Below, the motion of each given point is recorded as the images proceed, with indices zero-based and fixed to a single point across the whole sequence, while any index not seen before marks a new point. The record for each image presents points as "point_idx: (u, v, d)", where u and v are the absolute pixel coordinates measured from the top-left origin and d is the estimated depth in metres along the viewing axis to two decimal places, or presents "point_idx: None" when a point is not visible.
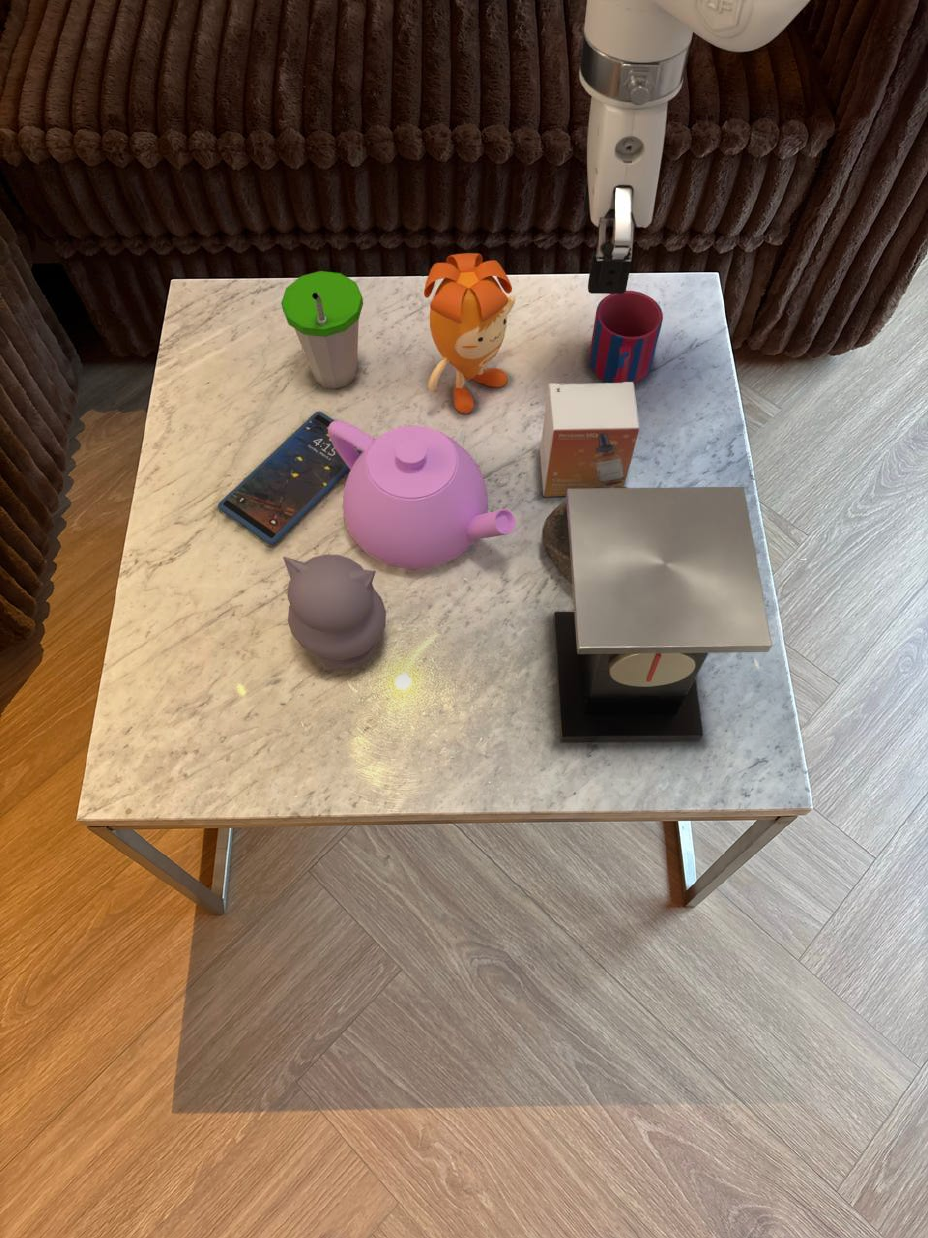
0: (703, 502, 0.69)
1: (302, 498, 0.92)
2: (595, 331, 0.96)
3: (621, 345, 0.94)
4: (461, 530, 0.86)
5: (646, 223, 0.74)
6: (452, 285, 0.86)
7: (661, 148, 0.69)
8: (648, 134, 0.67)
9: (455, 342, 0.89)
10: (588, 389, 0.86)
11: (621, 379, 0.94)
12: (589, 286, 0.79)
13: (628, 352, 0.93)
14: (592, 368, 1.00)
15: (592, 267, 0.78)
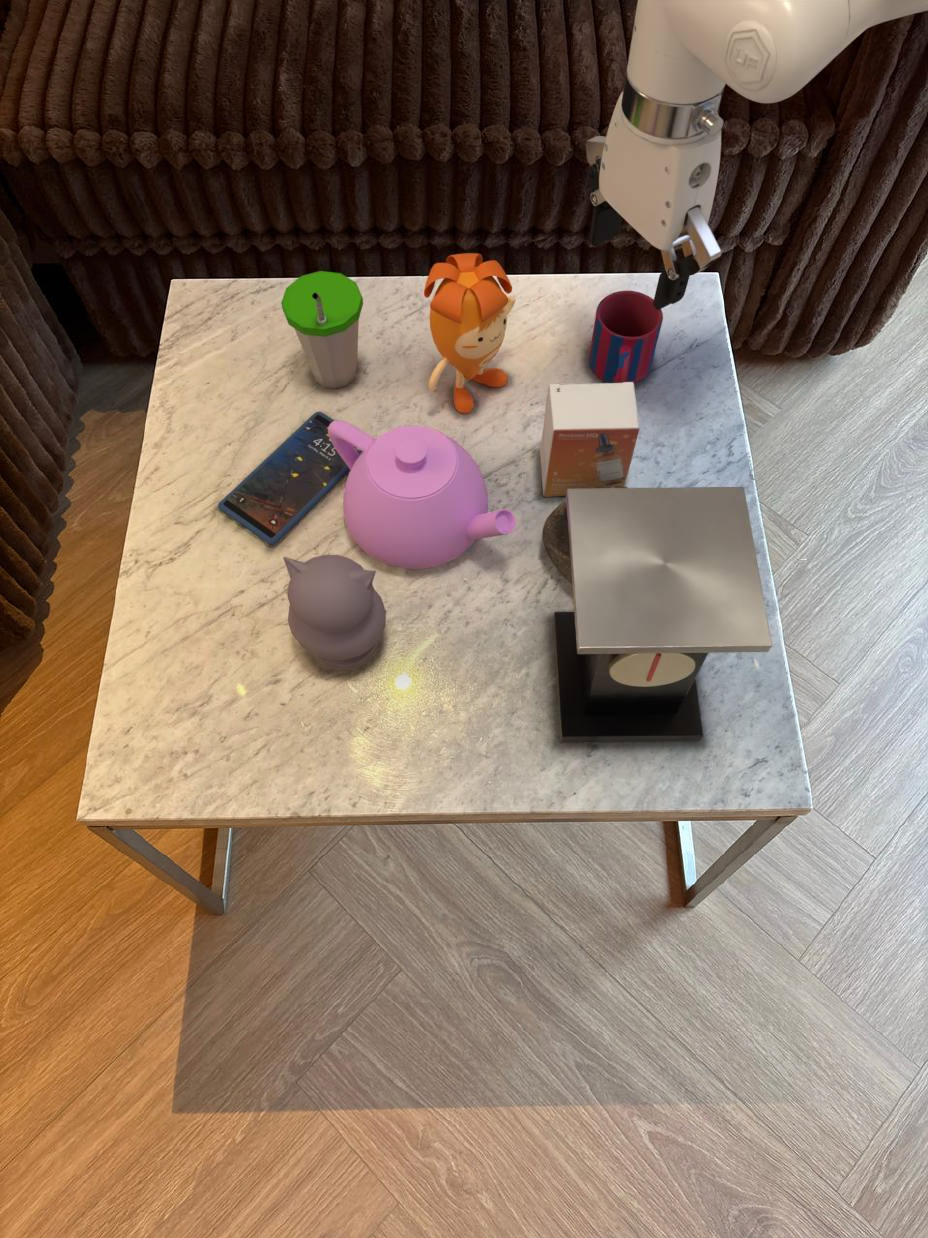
0: (703, 502, 0.69)
1: (302, 498, 0.92)
2: (595, 331, 0.96)
3: (621, 345, 0.94)
4: (461, 530, 0.86)
5: None
6: (452, 285, 0.86)
7: (719, 163, 0.75)
8: (714, 156, 0.74)
9: (455, 342, 0.89)
10: (588, 389, 0.86)
11: (621, 379, 0.94)
12: (658, 304, 0.85)
13: (628, 352, 0.93)
14: (592, 368, 1.00)
15: (662, 287, 0.83)
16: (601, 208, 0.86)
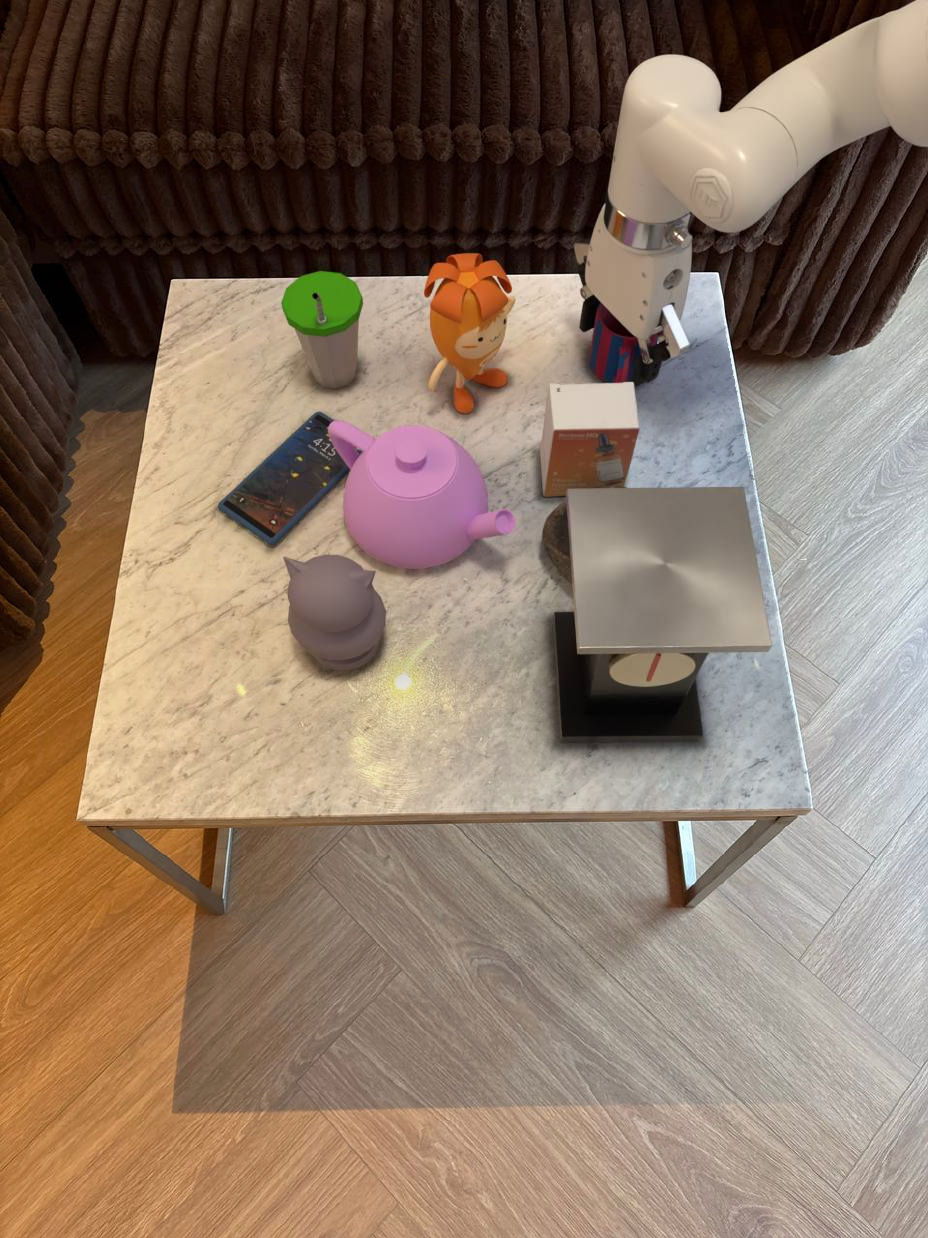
0: (703, 502, 0.69)
1: (302, 498, 0.92)
2: (595, 331, 0.96)
3: (622, 345, 0.94)
4: (461, 530, 0.86)
5: None
6: (452, 285, 0.86)
7: (690, 267, 0.85)
8: (685, 263, 0.83)
9: (455, 342, 0.89)
10: (588, 389, 0.86)
11: (621, 380, 0.94)
12: (635, 383, 0.95)
13: (628, 352, 0.93)
14: (592, 368, 1.00)
15: (638, 369, 0.93)
16: (590, 301, 0.96)
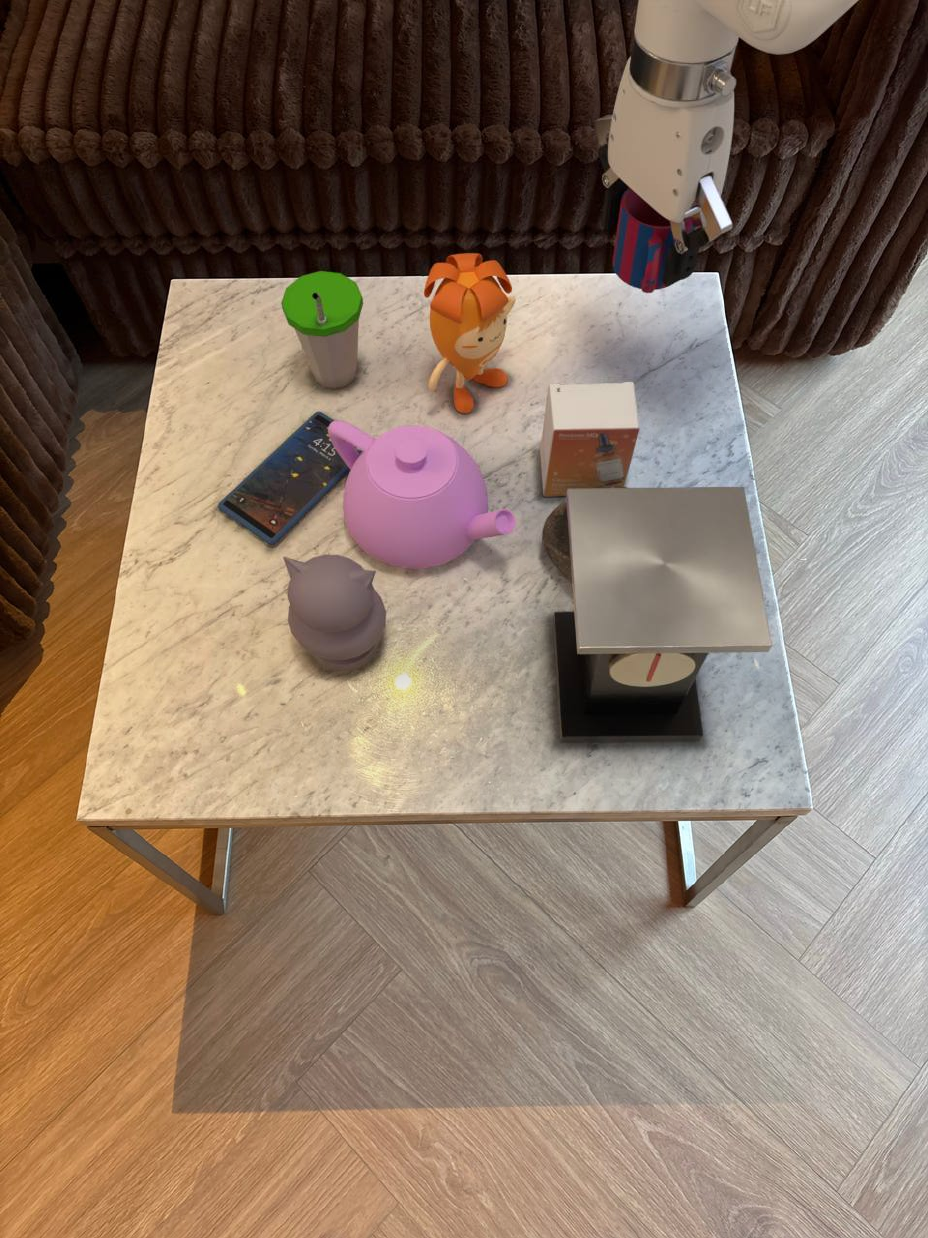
0: (703, 502, 0.69)
1: (302, 498, 0.92)
2: (620, 224, 0.84)
3: (651, 237, 0.82)
4: (461, 530, 0.86)
5: None
6: (452, 285, 0.86)
7: (732, 127, 0.72)
8: (727, 119, 0.71)
9: (455, 342, 0.89)
10: (588, 389, 0.86)
11: (651, 276, 0.81)
12: (667, 280, 0.83)
13: (659, 244, 0.81)
14: (617, 272, 0.88)
15: (671, 262, 0.81)
16: (613, 190, 0.83)
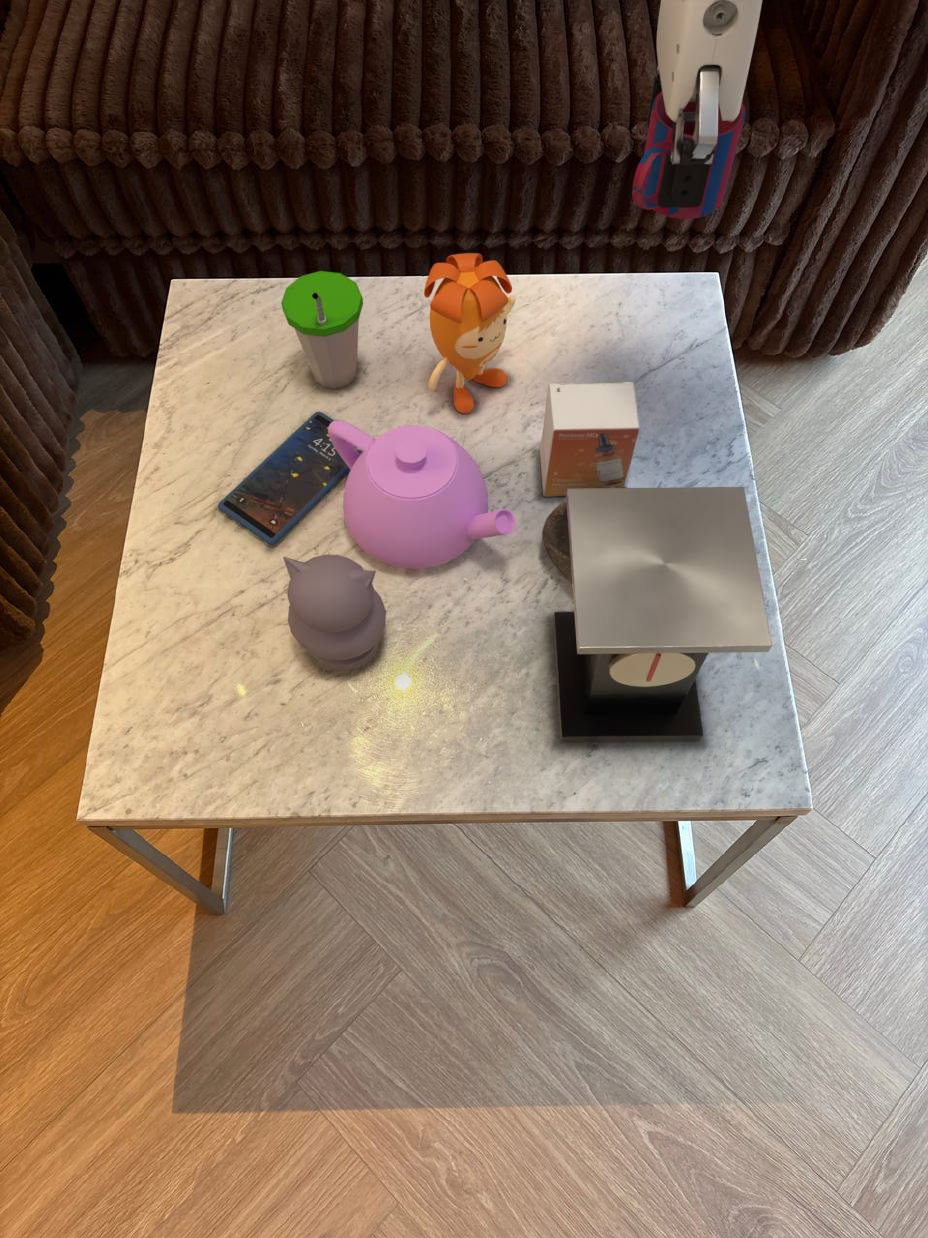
0: (703, 502, 0.69)
1: (302, 498, 0.92)
2: None
3: (664, 140, 0.68)
4: (461, 530, 0.86)
5: (733, 115, 0.63)
6: (452, 285, 0.86)
7: (758, 16, 0.58)
8: None
9: (455, 342, 0.89)
10: (588, 389, 0.86)
11: (638, 182, 0.68)
12: (659, 198, 0.69)
13: (663, 148, 0.67)
14: None
15: (664, 174, 0.67)
16: None
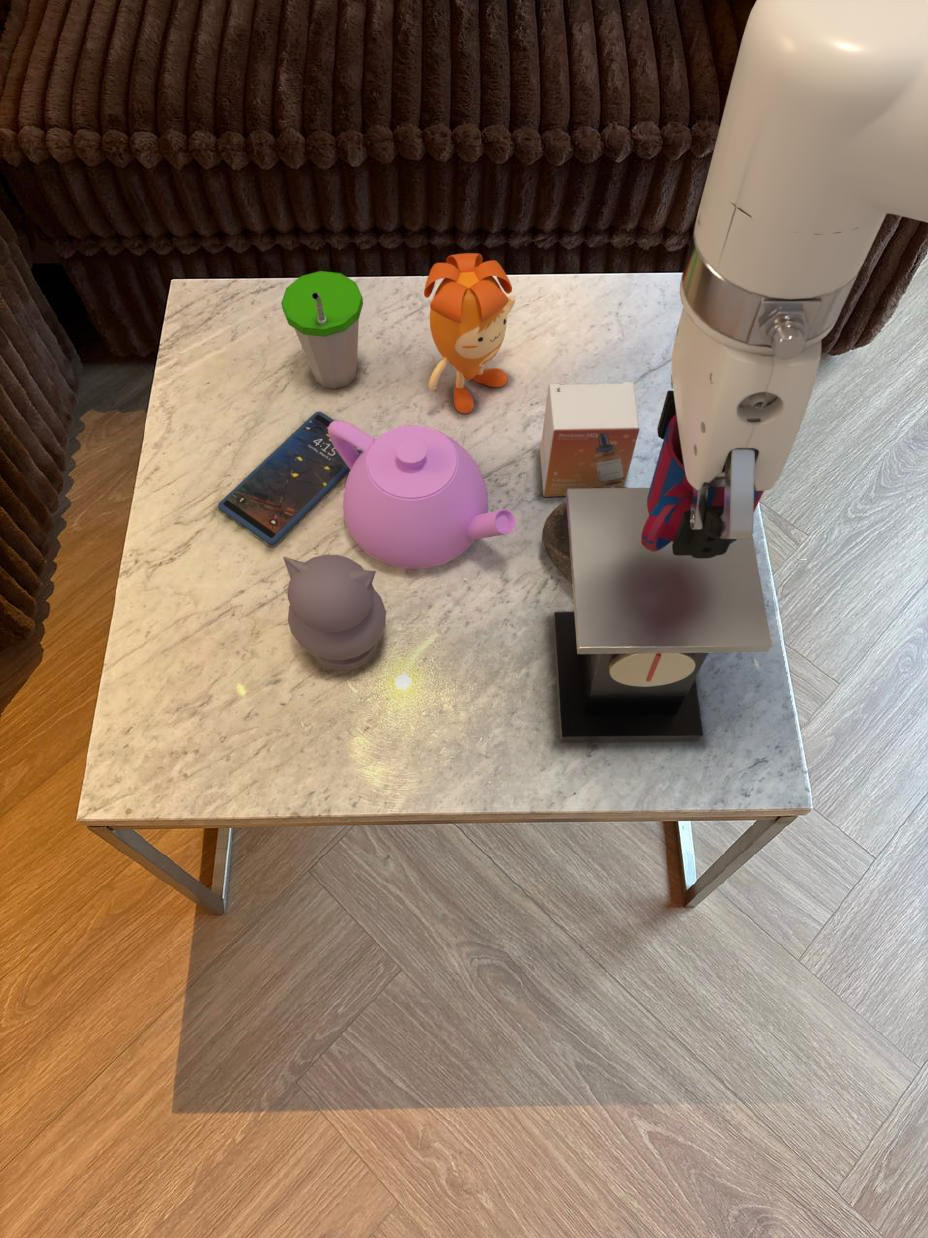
0: None
1: (302, 498, 0.92)
2: None
3: (680, 483, 0.55)
4: (461, 530, 0.86)
5: (770, 487, 0.50)
6: (452, 285, 0.86)
7: (807, 403, 0.45)
8: (792, 389, 0.44)
9: (455, 342, 0.89)
10: (588, 389, 0.86)
11: (648, 534, 0.55)
12: (675, 549, 0.56)
13: (679, 498, 0.55)
14: (647, 497, 0.62)
15: (682, 530, 0.54)
16: None
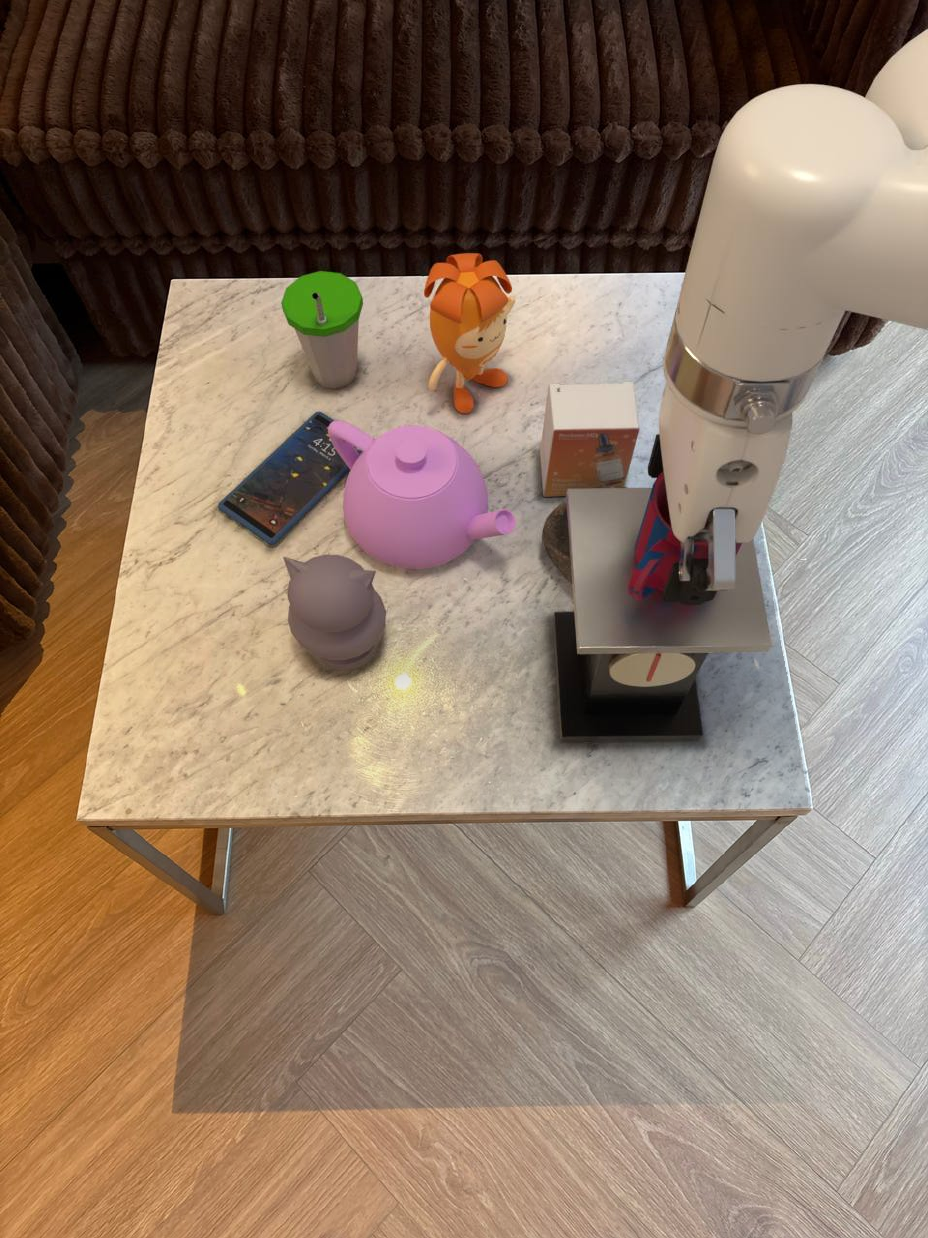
0: None
1: (302, 498, 0.92)
2: None
3: (664, 539, 0.60)
4: (461, 530, 0.86)
5: (750, 540, 0.54)
6: (452, 285, 0.86)
7: (781, 468, 0.49)
8: (765, 458, 0.48)
9: (455, 342, 0.89)
10: (588, 389, 0.86)
11: (634, 585, 0.60)
12: (665, 596, 0.60)
13: (663, 553, 0.59)
14: (635, 546, 0.66)
15: (672, 580, 0.58)
16: None
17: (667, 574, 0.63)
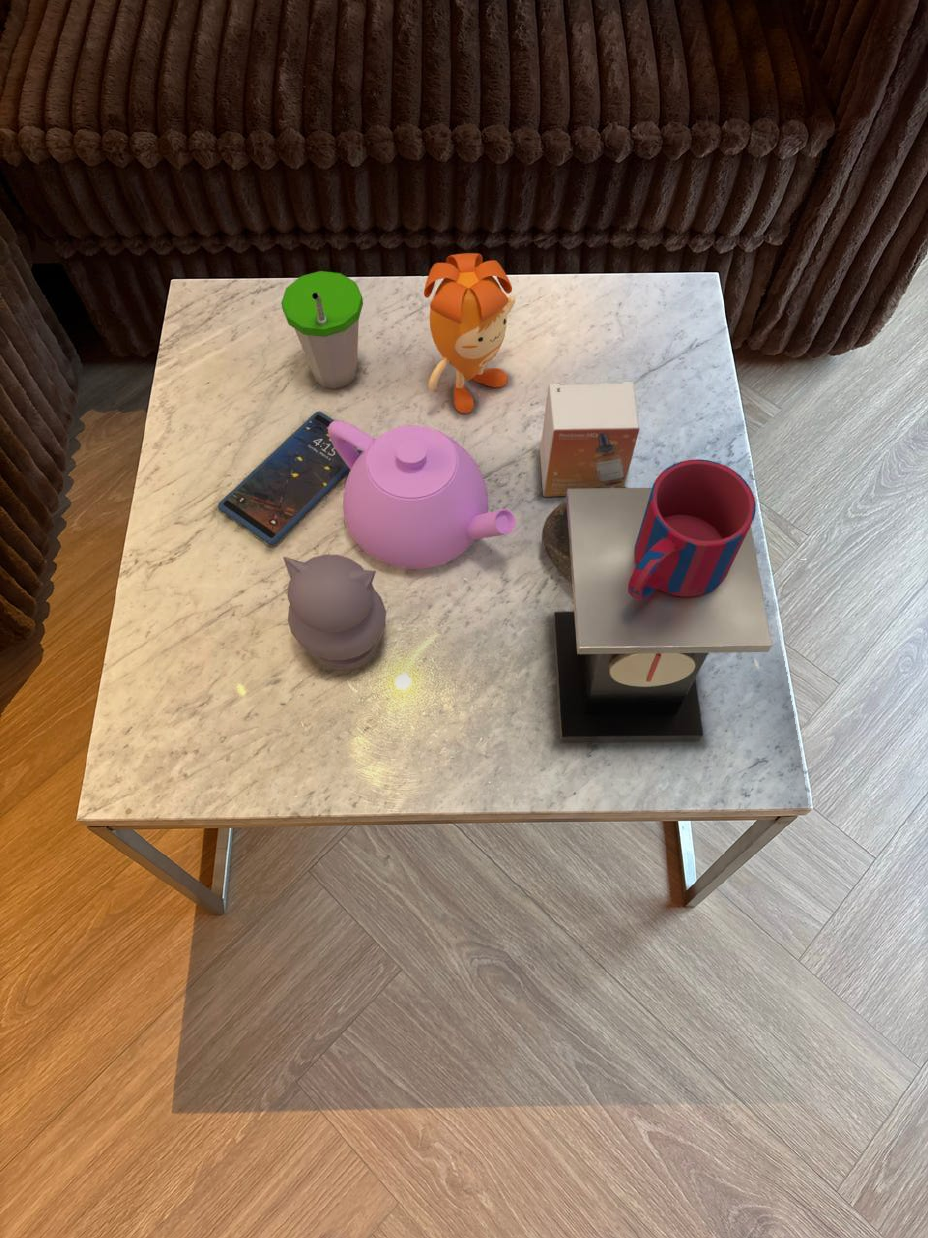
0: None
1: (302, 498, 0.92)
2: None
3: (664, 539, 0.60)
4: (461, 530, 0.86)
5: None
6: (452, 285, 0.86)
7: None
8: None
9: (455, 342, 0.89)
10: (588, 389, 0.86)
11: (634, 585, 0.60)
12: None
13: (663, 553, 0.59)
14: (635, 546, 0.66)
15: None
16: None
17: (667, 574, 0.63)
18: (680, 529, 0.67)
